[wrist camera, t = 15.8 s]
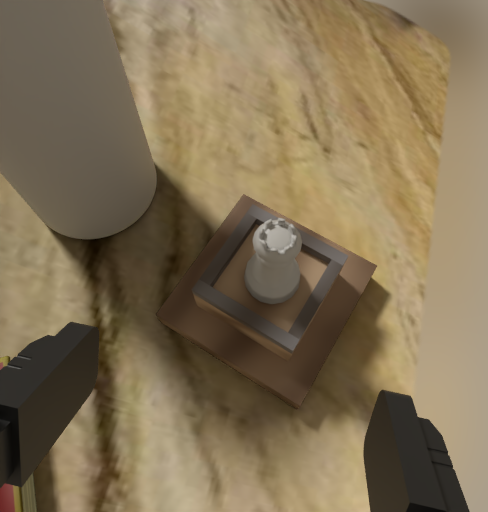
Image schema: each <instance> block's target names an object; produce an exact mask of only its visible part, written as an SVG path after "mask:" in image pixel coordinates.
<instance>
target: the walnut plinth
mask: <svg viewBox="0 0 488 512" xmlns="http://www.w3.org/2000/svg"><path fill="white" fill-rule="evenodd" d="M278 218H283V219H286V222H288V223H290V224H293V225H294V226H295V228H296V229H297V230H298V232H299V233H300V235H301V240H302V245H301V250H300V252H299V253H298V255H297V256H296V257H295V260H296V261H297V263H298V265H299V270H300V282H299V287H298V289H297V291H296V292H295V294H294V295H293V296H292V297H291V298H289V299H288V300H286V301H285V302H283V303H277V304H268V303H264V302H260V301H259V300H257V299H256V298H254V297H253V296H252V295H251V294H250V292H249V291H248V289H247V288H246V285H245V280H244V274H245V270H246V266H247V262H248V261H249V260H250V259H251V257H252V256H253V255H254V254H255V253H256V251H255V250H254V246H253V237H254V233H255V231H256V230H257V229H258V227H259V226H260V225H262V224H264V223H265V222H266V221H268V220H270V219H271V220H278ZM376 267H377V265H375V264H373V263H371V262H369V261H367V260H365V259H364V258H362V257H360V256H358V255H356V254H354V253H352V252H351V251H349V250H347V249H345V248H343V247H341V246H339V245H337V244H336V243H334V242H332V241H330V240H328V239H326V238H324V237H323V236H321V235H319V234H317V233H315V232H313V231H311V230H309V229H308V228H306V227H304V226H302V225H300V224H298V223H296V222H295V221H293V220H291V219H289V218H287V217H285V216H283V215H281V214H280V213H278V212H276V211H274V210H272V209H270V208H268V207H267V206H265V205H263V204H261V203H259V202H257V201H255V200H253V199H252V198H250V197H248V196H246V195H244V194H243V196H242V197H241V198H240V200H239V201H238V203H237V204H236V205H235V207H234V208H233V209H232V211H231V212H230V213H229V215H228V216H227V218H226V219H225V220H224V222H223V223H222V224H221V226H220V227H219V229H218V230H217V231H216V233H215V234H214V235H213V237H212V238H211V240H210V241H209V242H208V244H207V245H206V246H205V248H204V249H203V250H202V252H201V253H200V255H199V256H198V257H197V259H196V260H195V261H194V263H193V264H192V266H191V267H190V268H189V270H188V271H187V272H186V274H185V275H184V276H183V278H182V279H181V281H180V282H179V283H178V285H177V286H176V287H175V289H174V290H173V292H172V293H171V294H170V296H169V297H168V298H167V300H166V301H165V302H164V304H163V305H162V307H161V308H160V309H159V311H158V312H157V313H156V315H157V317H158V318H159V320H160V322H161V323H163V324H164V325H166V326H168V327H169V328H171V329H172V330H174V331H175V332H177V333H179V334H180V335H182V336H183V337H185V338H186V339H188V340H189V341H191V342H193V343H194V344H196V345H197V346H199V347H200V348H202V349H204V350H205V351H207V352H208V353H210V354H211V355H213V356H214V357H216V358H218V359H219V360H221V361H222V362H224V363H225V364H227V365H229V366H230V367H232V368H233V369H235V370H236V371H238V372H239V373H241V374H243V375H244V376H246V377H247V378H249V379H250V380H252V381H254V382H255V383H257V384H258V385H260V386H261V387H263V388H264V389H266V390H268V391H269V392H271V393H272V394H274V395H275V396H277V397H279V398H280V399H282V400H283V401H285V402H286V403H288V404H289V405H291V406H293V407H294V408H296V409H298V408H299V407H300V406H301V404H302V402H303V400H304V398H305V397H306V395H307V393H308V391H309V389H310V387H311V386H312V384H313V382H314V380H315V378H316V377H317V375H318V373H319V371H320V369H321V367H322V366H323V364H324V362H325V360H326V358H327V356H328V355H329V353H330V351H331V349H332V347H333V346H334V344H335V342H336V340H337V338H338V336H339V335H340V333H341V331H342V329H343V327H344V326H345V324H346V322H347V320H348V318H349V316H350V315H351V313H352V311H353V309H354V307H355V305H356V304H357V302H358V300H359V298H360V296H361V295H362V293H363V291H364V289H365V287H366V285H367V284H368V282H369V280H370V278H371V276H372V275H373V273H374V271H375V269H376Z"/></svg>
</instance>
